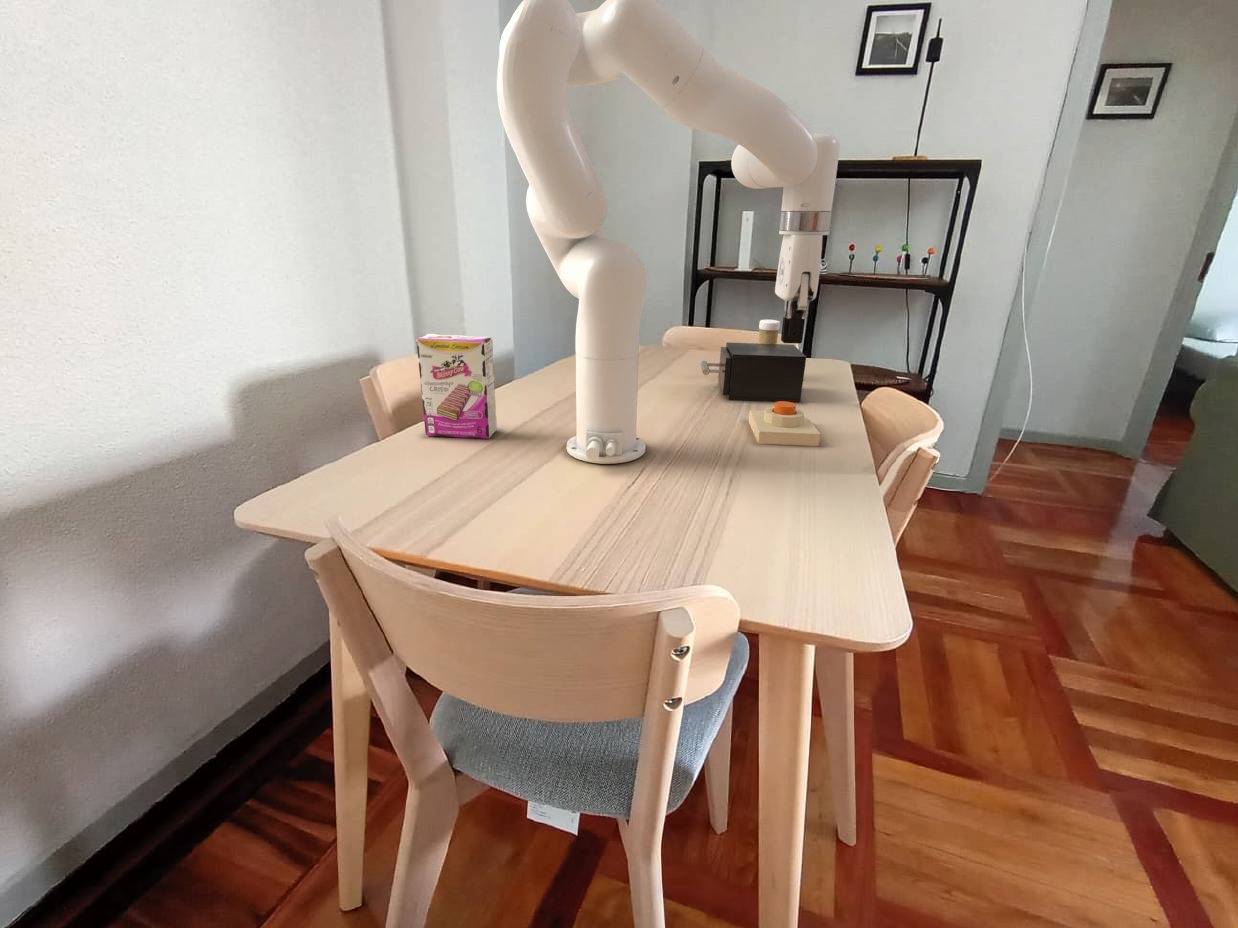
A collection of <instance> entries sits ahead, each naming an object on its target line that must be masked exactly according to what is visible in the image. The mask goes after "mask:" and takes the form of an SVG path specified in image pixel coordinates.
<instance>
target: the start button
mask: <svg viewBox="0 0 1238 928" xmlns="http://www.w3.org/2000/svg"><path fill="white" fill-rule="evenodd" d="M773 407H774V413H776V414H780V415H795V410H796V409H797V403H792V402H787V401H779V402H774V404H773Z"/></svg>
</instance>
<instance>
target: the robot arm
mask: <svg viewBox="0 0 1238 928" xmlns="http://www.w3.org/2000/svg"><path fill="white" fill-rule="evenodd" d="M498 53H499V55H498V62H497V69H496V70H497V71H496V96H497V104H498V105H497V106H498V110H499V115H500V119H501V123H502V125H503V129H504V131H505V134H506V136H507V139H508V141H509V144H510V146H511V148H512V150H513V153H514V154H515V157H516V159H517V162H518V163H519V166H520V167H521V170H522V172H523V174H524V176H525V178H526V181H527V182H528V187H527V191H526V197H525V205H526V211H527V215H528V218H529V221H530V224H531V226H532V228H533V230H534V232H535V234H536V236H537V238H538V240H539V241H540V243H541V245H542V247H543V250H544V251H545V254H547V257H548V259H549V261H550V263H551V265H552V267H553V269H554V270H555V272H556V274H557V276H558V278H559V280H560V282H561V283H562V284H563V286H564V288H565V289H566V290H567V291H568V292H569V293H570V294H571V295H572V296H573V297H574V298H577V300H578V308H577V314H576V322H575V323H576V324H575V344H574V345H575V346H574V349H575V413H576V414H575V418H576V419H575V423H576V425H575V426H576V427H575V429H576V431H575V432H576V434H575V435H574V436H572V437H570V438H569V439H568V440H567V442H566V452H567V453H568V454H569V456H571V457H573V458H574V459H577V460H579V461H583V462H586V463H592V464H602V465H612V464H615V465H616V464H623V463H627V462H632V461H635V460H637V459H639V458H641V457H642V456H644V454H645V453H646V446H647V445H646V442H645V441H644V440H643V439H642V438H640V437H639V436H637V425H638V423H637V422H638V420H637V419H638V393H639V390H638V389H639V361H640V360H639V359H640V353H639V352H640V331H641V321H642V320H641V319H642V313H643V308H644V302H645V296H646V289H647V273H646V268H645V265H644V263H643V260H642V259H641V257H640V256H639V254H638V253H637V252H636V251H635V250H634V249H633V248H632V247H631V246H630V245H627V244H626V243H624V242H621V241H619V240H614V239H607V236H606V234H605V232H604V230H603V228H602V225H603V224H604V222H605V220H606V217H607V213H608V201H607V195H606V191H605V189H604V188H603V185H602V183H601V181H600V178H599V176H598V175H597V172H596V170H595V168H594V166H593V164H592V161H591V159H590V157H589V155H588V153H587V151H586V148H585V146H584V144H583V142H582V140H581V137H580V135H579V132H578V130H577V127H576V125H575V122H574V119H573V117H572V114H571V111H570V107H569V102H568V89H570V88H578V87H585V86H586V87H587V86H592V85H593V86H594V85H599V84H603V83H610V82H614V81H617V80H619V79H622V78H624V77H626V78H628V79H629V80H630V81H631V82H632V83H633V84H634V85H635V86H637V87H638V88H639V89H640V90H641V91H642V92H644V93H645V94H646V95H647V96H648V97H649V98H650V99H652V100H653V102H655V103H656V104H657V105H658V106H659V107H660V108H661V109H662V110H664V111H665V112H666V113H667V114H668V115H669V116H671V118H672V119H674V120H675V121H676V122H677V123H679V124H681V125H683V126H686V127H688V128H691V129H694V130H698V131H702V132H708V133H710V134H715V135H718V136H721V137H724V138H726V139H728V140H730V141H732V142H734V143H736V144H737V146H736V147H735V149H734V150H733V153H732V157H731V161H730V165H731V171H732V174H733V176H734V178H735V179H736V180H737V182H739V184H741V185H743V186H744V187H747V188H750V189H753V190H754V189H755V190H760V189H761V190H762V189H771V188H783V190H782V200H781V209H780V211H781V212H780V219H779V230H778V231H779V232H778V234H779V235H783V236H782V240H781V246H780V251H779V258H778V264H777V265H778V266H777V273H776V278H775V279H776V280H775V287H774V294H775V295H776V296H777V297H778V298H780V299H781V300H783V301H784V307H783V308H784V309H783V317H782V324H781V334H780V335H781V336H780V341H781V342H782V344H802V342H803V339H804V330H805V323H806V322H805V321H806V320H805V319H806V314H807V309H808V301H809V302H813V301H814V300H816V298H817V293H818V287H819V282H820V281H819V280H820V272H821V264H822V252H823V251H822V250H823V236H829V234H830V227H831V219H832V212H833V211H832V210H833V203H834V195H835V189H836V180H837V173H838V166H839V165H838V164H839V158H840V149H841V147H840V145H841V144H840V141H839V139H838V137H837V136H835V135H833V134H827V133H813V132H812V131H811V129H810V128H809V126H807V124H806V123H805V122H804V121H803V120H802V118H801V117H800V116H799V115H798V114H797V113H796V112H795V111H794V110H793V109H792V108H791V107H790V106H789V105H788V104H787V103H786V102H785V101H784V100H782V98H780V97H779V96H777V94H775V93H773V92H772V91H770V90H769V89H768V88H765V87H764V86H762V85H760V84H758V83H756V82H754V81H753V80H750V79H749V78H747V77H745V76H743V75H742V74H740V73H738V72H736V71H735V70H732V69H730V68H727V67H726V66H723V65H722V64H720V62H718V61H717V60H716V58H713V56H712V55H711V54H709V52H708V51H707V50H706V49H705V48H704V47H703V46H702V45H700V43H698V42H697V40H695V38H694V37H692V35H690V34H689V32H688V31H687V30H686V29H685V28H684V27H683V26H682V25H681V24H680V23H679V22H678V21H677V20H676V19H675V18H674V17H673V16H672V15H671V14H670V13H669V12H668V10H666V9H665V8H664V7H663V6H662V5H661V4H660V3H659V2H658V1H657V0H605V1H604V2H603V3H602V4H600V6H598V8H595V9H593V10H588V11H583V12H577V13H576V11H575V9H574V7H573V5H572V4H571V3H570V1H569V0H522V1H521V2H520V3H519V5H518V6H517V8H516V10H515V11H514V12H513V14H512V16H511V18H510V19H509V21H508V22H507V24H506V26H505V28H504V29H503V32H502V34H501V37H500V41H499V49H498Z"/></svg>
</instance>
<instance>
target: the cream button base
mask: <svg viewBox="0 0 1238 928" xmlns="http://www.w3.org/2000/svg"><path fill="white" fill-rule="evenodd" d="M748 413H749V414H748V423H749V426H750V428H751V430H752V434H753V435H754V438H755V440H756V442H757V444H759V445H780V446H781V445H782V446H783V445H784V446H809V447H811V446H812V447H819V445H820V441H821V440H820V439H821V433H820V431H819V430H818V428H817V427H816V426H815V424H814V423H813V422H812V420H811V419H810V417H809V416H808V415H807V414H806V412H805V411H804V412H803V410H802V409H798V408H796V410H795V415H780V414H776V413H774V406H767V407H766V408H765V409H764V410H749V412H748Z"/></svg>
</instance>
